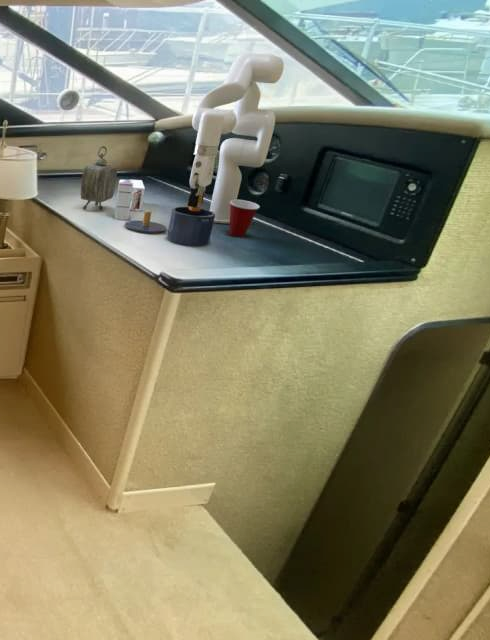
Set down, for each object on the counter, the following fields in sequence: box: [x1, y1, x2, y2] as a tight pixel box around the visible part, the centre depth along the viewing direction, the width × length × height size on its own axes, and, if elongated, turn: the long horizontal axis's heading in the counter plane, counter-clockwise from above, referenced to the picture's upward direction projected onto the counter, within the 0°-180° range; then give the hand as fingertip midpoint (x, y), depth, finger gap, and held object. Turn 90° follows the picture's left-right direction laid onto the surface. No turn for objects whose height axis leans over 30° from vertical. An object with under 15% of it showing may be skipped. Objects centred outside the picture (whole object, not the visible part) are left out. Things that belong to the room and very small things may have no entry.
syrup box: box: [114, 179, 134, 221], centre depth 239 cm, size 6×6×14 cm
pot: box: [166, 206, 215, 247], centre depth 215 cm, size 15×20×10 cm
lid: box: [124, 209, 167, 234], centre depth 228 cm, size 16×16×7 cm
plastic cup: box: [228, 199, 261, 238], centre depth 225 cm, size 11×11×12 cm
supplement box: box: [188, 184, 204, 211], centre depth 210 cm, size 3×3×10 cm
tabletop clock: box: [80, 145, 118, 211], centre depth 248 cm, size 14×9×25 cm, turn 144°
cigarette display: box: [128, 179, 146, 212], centre depth 261 cm, size 20×6×9 cm, turn 172°
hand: (194, 205), depth 211 cm, fingers closed on supplement box, 4 cm apart
